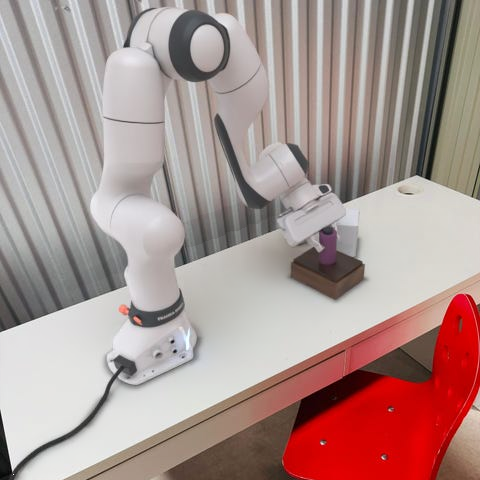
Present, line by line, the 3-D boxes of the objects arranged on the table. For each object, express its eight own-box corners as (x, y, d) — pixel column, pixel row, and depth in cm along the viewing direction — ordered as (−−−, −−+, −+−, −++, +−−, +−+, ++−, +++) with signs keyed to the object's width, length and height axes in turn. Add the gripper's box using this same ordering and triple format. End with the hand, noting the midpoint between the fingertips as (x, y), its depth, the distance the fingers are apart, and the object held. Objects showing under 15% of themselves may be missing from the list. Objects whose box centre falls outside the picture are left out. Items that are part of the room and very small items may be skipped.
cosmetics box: (356, 257, 135) (358, 225, 128) (333, 256, 137) (335, 224, 130) (357, 239, 143) (359, 208, 136) (336, 238, 144) (337, 207, 138)
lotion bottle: (328, 266, 122) (329, 235, 116) (315, 260, 125) (315, 229, 119) (339, 259, 124) (340, 228, 118) (326, 253, 127) (327, 222, 121)
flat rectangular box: (335, 299, 121) (336, 281, 117) (291, 277, 131) (290, 259, 127) (363, 279, 126) (365, 261, 123) (319, 259, 136) (319, 241, 132)
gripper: (279, 210, 114) (309, 258, 114) (333, 182, 123) (361, 225, 123) (267, 221, 119) (296, 266, 119) (320, 193, 129) (346, 235, 129)
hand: (329, 245), depth 121 cm, fingers closed on lotion bottle, 5 cm apart
